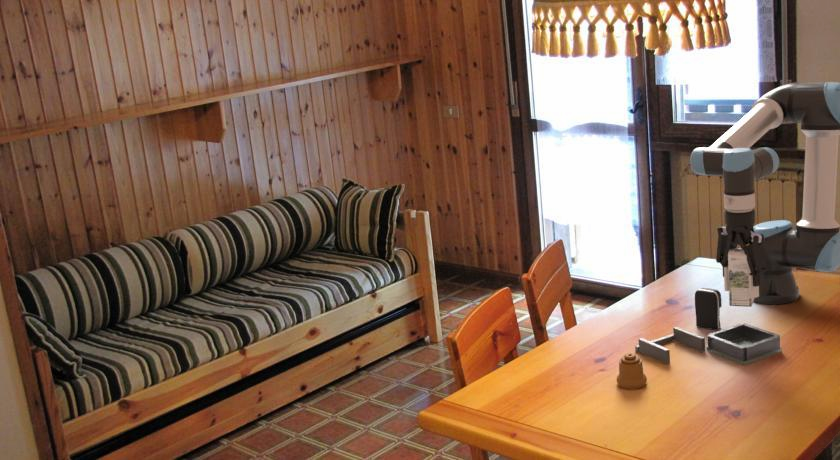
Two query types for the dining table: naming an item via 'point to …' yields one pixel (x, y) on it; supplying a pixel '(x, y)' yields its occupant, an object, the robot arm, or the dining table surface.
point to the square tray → (744, 343)
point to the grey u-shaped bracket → (679, 336)
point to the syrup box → (738, 278)
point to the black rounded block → (708, 308)
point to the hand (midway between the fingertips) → (741, 293)
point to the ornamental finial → (631, 372)
